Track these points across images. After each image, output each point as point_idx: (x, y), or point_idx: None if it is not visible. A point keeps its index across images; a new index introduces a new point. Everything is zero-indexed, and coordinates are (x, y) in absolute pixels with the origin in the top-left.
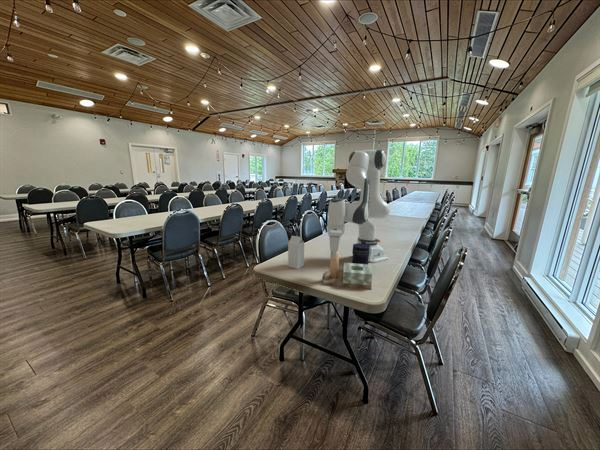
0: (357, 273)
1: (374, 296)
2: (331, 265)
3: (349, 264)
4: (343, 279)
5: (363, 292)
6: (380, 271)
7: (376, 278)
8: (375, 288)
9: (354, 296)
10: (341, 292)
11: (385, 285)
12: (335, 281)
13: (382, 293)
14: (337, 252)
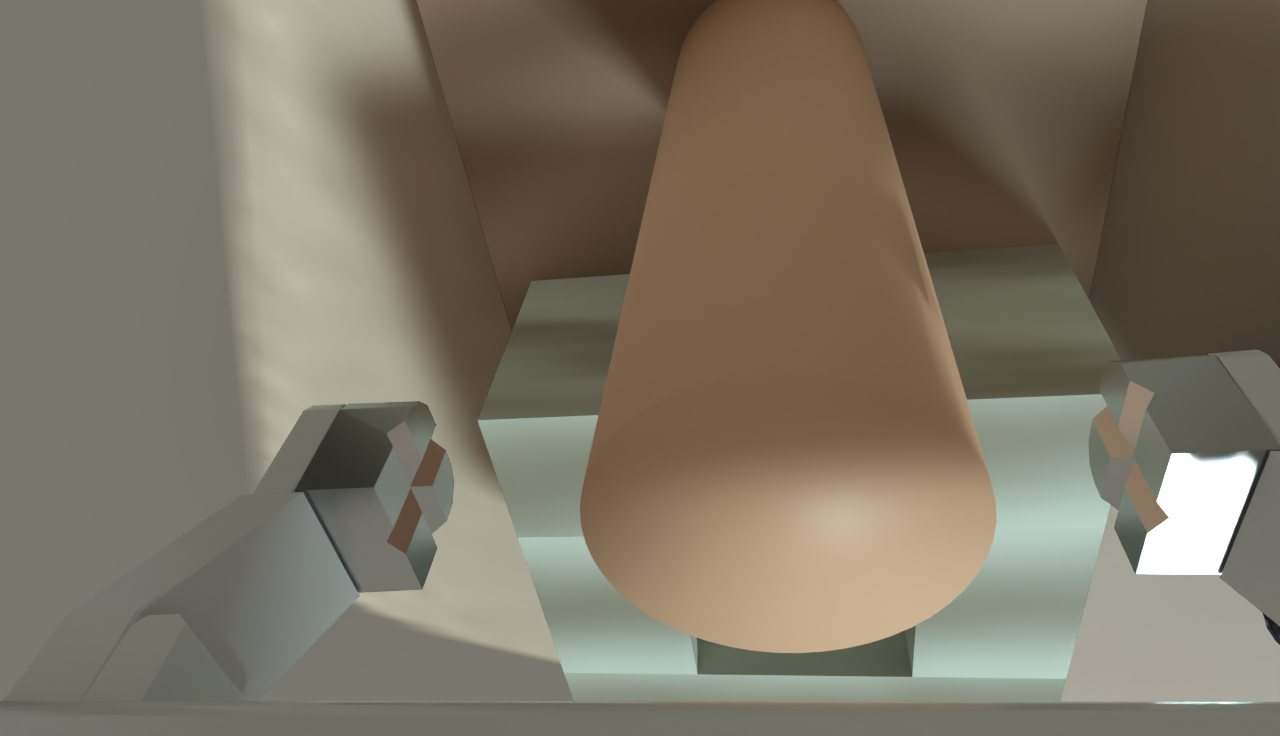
0: (544, 602)
1: (428, 576)
2: (665, 152)
3: (1001, 498)
4: (519, 325)
5: (467, 493)
6: (1263, 677)
7: None
8: None
9: (299, 411)
10: (305, 259)
11: None
12: (537, 151)
13: (542, 636)
14: (731, 610)
